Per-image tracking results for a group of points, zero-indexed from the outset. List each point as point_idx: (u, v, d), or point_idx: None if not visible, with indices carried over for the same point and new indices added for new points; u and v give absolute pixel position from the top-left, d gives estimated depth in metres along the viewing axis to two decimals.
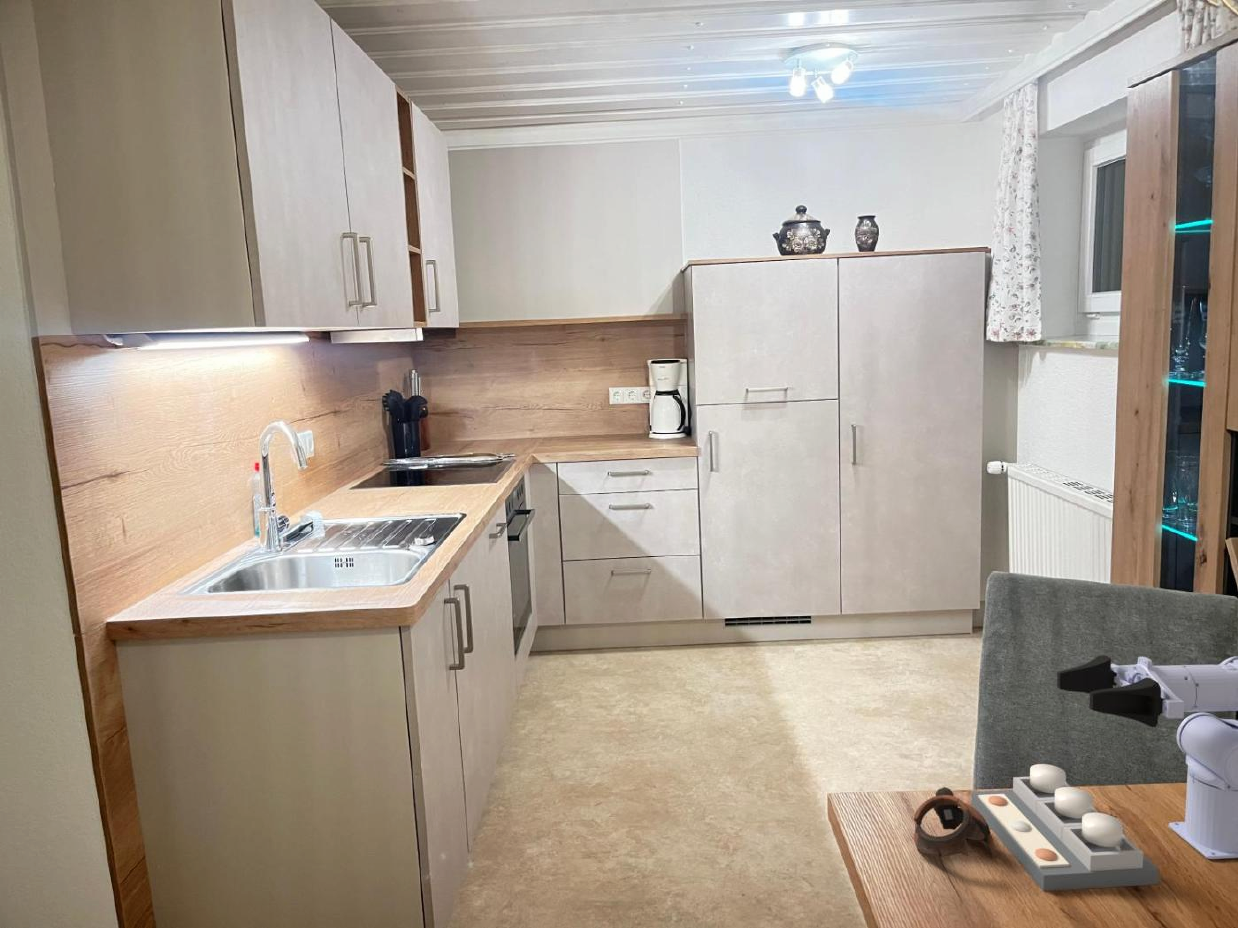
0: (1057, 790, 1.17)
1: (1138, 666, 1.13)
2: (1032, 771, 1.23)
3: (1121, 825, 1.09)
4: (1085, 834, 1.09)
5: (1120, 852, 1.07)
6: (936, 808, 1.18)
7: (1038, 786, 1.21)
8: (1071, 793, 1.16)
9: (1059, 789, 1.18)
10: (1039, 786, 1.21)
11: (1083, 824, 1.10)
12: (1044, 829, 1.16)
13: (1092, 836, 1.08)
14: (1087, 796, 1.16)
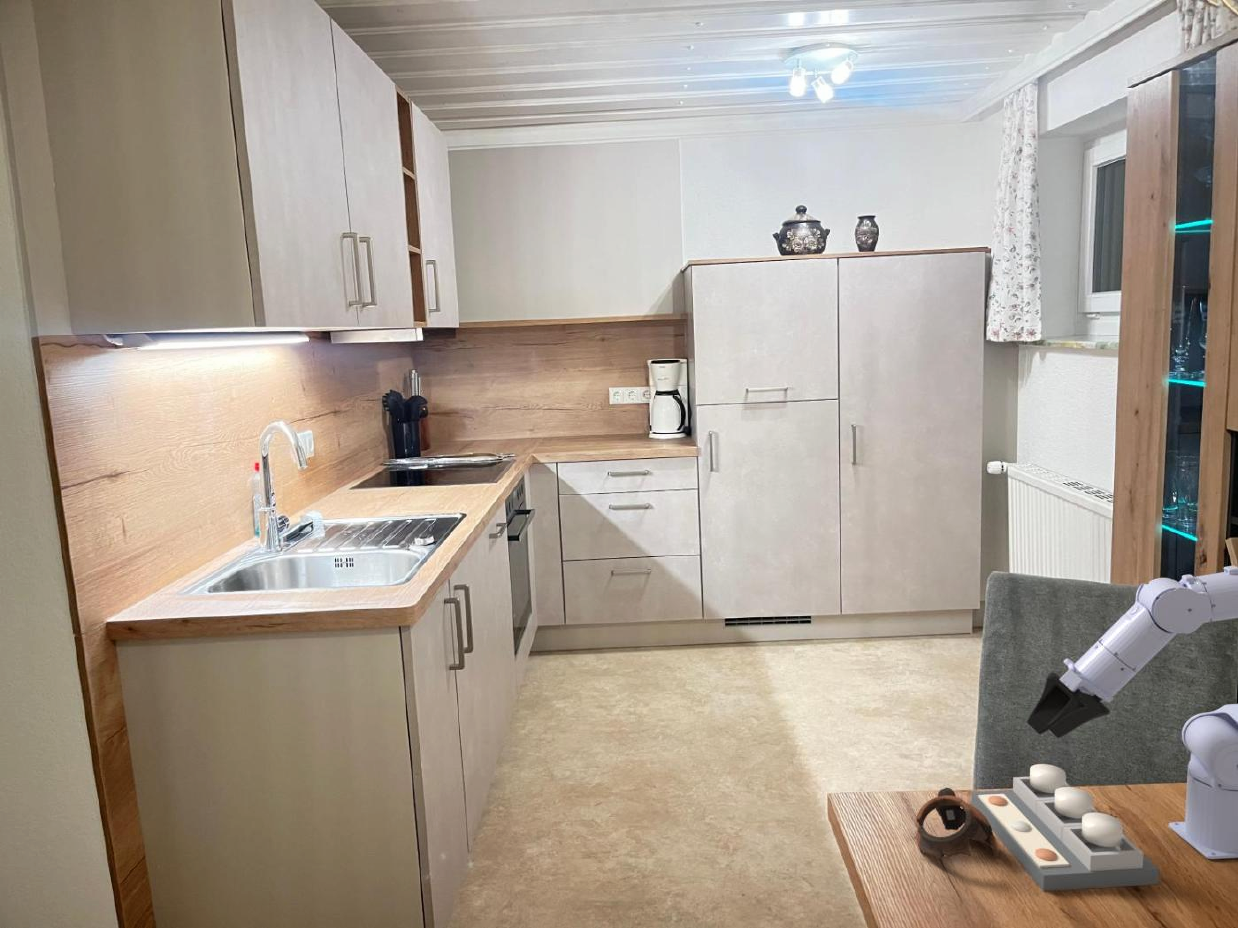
0: (1057, 790, 1.17)
1: None
2: (1032, 771, 1.23)
3: (1121, 825, 1.09)
4: (1085, 834, 1.09)
5: (1120, 852, 1.07)
6: (938, 808, 1.18)
7: (1038, 786, 1.21)
8: (1071, 793, 1.16)
9: (1059, 789, 1.18)
10: (1039, 786, 1.21)
11: (1083, 824, 1.10)
12: (1044, 829, 1.16)
13: (1092, 836, 1.08)
14: (1087, 796, 1.16)
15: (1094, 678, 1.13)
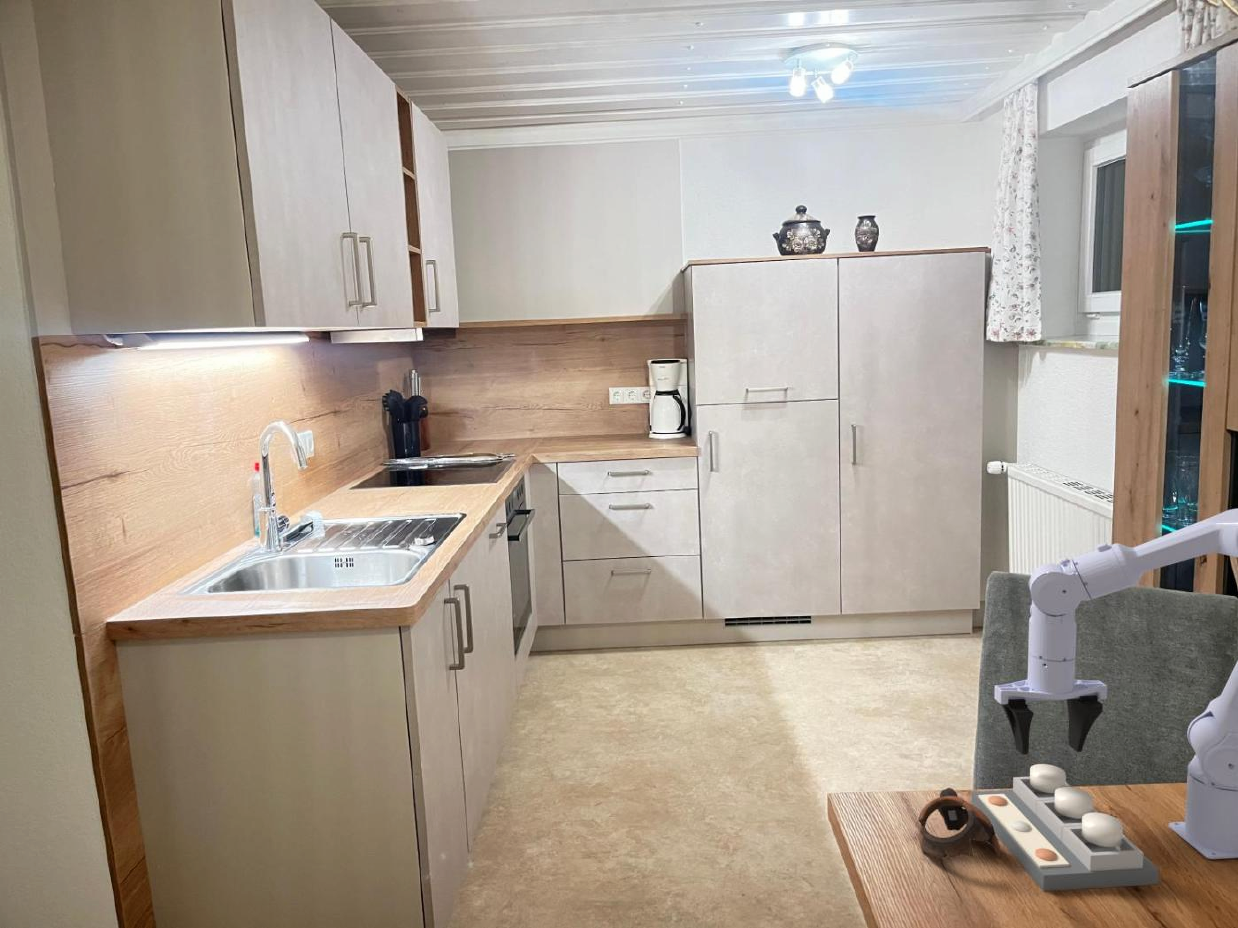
0: (1057, 790, 1.17)
1: None
2: (1032, 771, 1.23)
3: (1121, 825, 1.09)
4: (1085, 834, 1.09)
5: (1120, 852, 1.07)
6: (940, 809, 1.18)
7: (1038, 786, 1.21)
8: (1071, 793, 1.16)
9: (1059, 789, 1.18)
10: (1039, 786, 1.21)
11: (1083, 824, 1.10)
12: (1044, 829, 1.16)
13: (1092, 836, 1.08)
14: (1087, 796, 1.16)
15: (1033, 683, 1.20)
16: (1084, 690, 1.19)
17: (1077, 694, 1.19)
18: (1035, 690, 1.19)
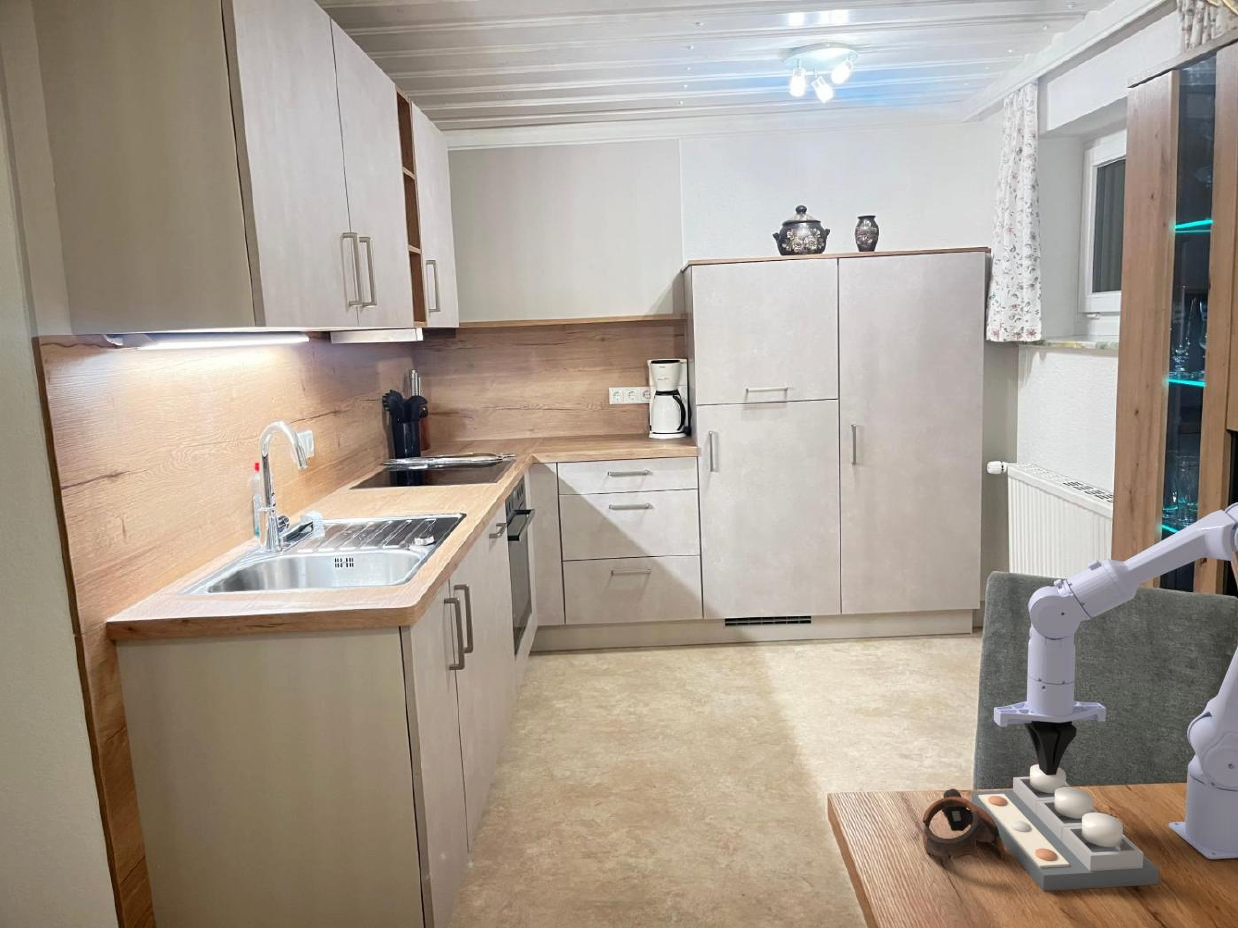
0: (1057, 790, 1.17)
1: None
2: (1032, 771, 1.23)
3: (1121, 825, 1.09)
4: (1085, 834, 1.09)
5: (1120, 852, 1.07)
6: (944, 810, 1.18)
7: (1038, 786, 1.21)
8: (1071, 793, 1.16)
9: (1059, 789, 1.18)
10: (1039, 786, 1.21)
11: (1083, 824, 1.10)
12: (1044, 829, 1.16)
13: (1092, 836, 1.08)
14: (1087, 796, 1.16)
15: (1032, 706, 1.20)
16: (1083, 713, 1.19)
17: (1076, 717, 1.19)
18: (1034, 712, 1.20)
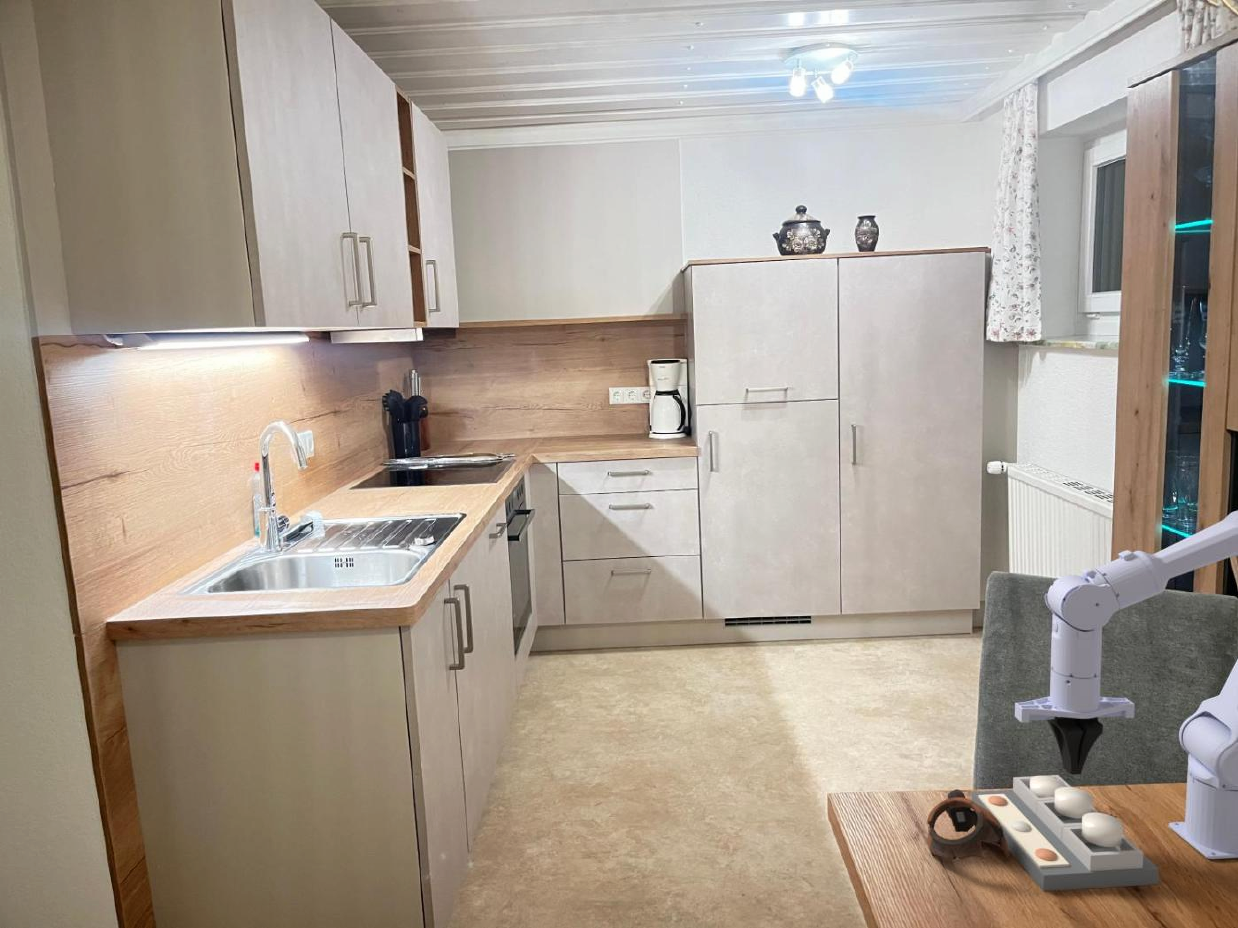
0: (1057, 790, 1.17)
1: None
2: (1032, 783, 1.23)
3: (1121, 825, 1.09)
4: (1085, 834, 1.09)
5: (1120, 852, 1.07)
6: (949, 810, 1.17)
7: None
8: (1071, 793, 1.16)
9: (1059, 789, 1.18)
10: None
11: (1083, 824, 1.10)
12: (1044, 829, 1.16)
13: (1092, 836, 1.08)
14: (1087, 796, 1.16)
15: (1055, 701, 1.14)
16: (1110, 708, 1.13)
17: (1103, 713, 1.13)
18: (1058, 708, 1.14)
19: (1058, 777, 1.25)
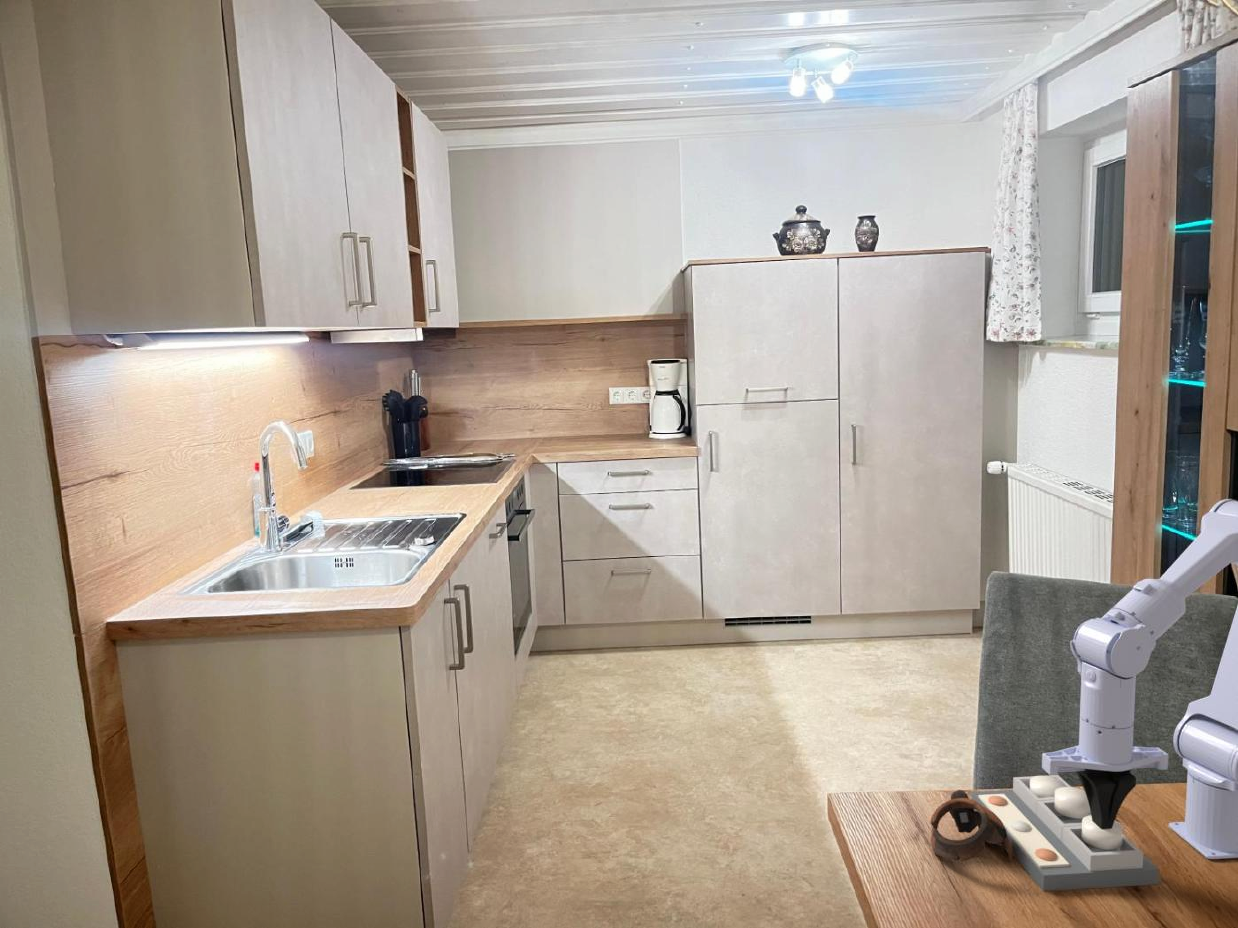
0: (1057, 790, 1.17)
1: None
2: (1032, 783, 1.23)
3: (1121, 828, 1.09)
4: (1085, 837, 1.10)
5: (1120, 852, 1.07)
6: (952, 811, 1.17)
7: None
8: (1071, 793, 1.16)
9: (1059, 789, 1.18)
10: None
11: (1083, 827, 1.10)
12: (1044, 829, 1.16)
13: (1092, 839, 1.09)
14: None
15: (1086, 752, 1.07)
16: (1143, 760, 1.07)
17: (1136, 765, 1.06)
18: (1088, 760, 1.07)
19: (1058, 777, 1.25)
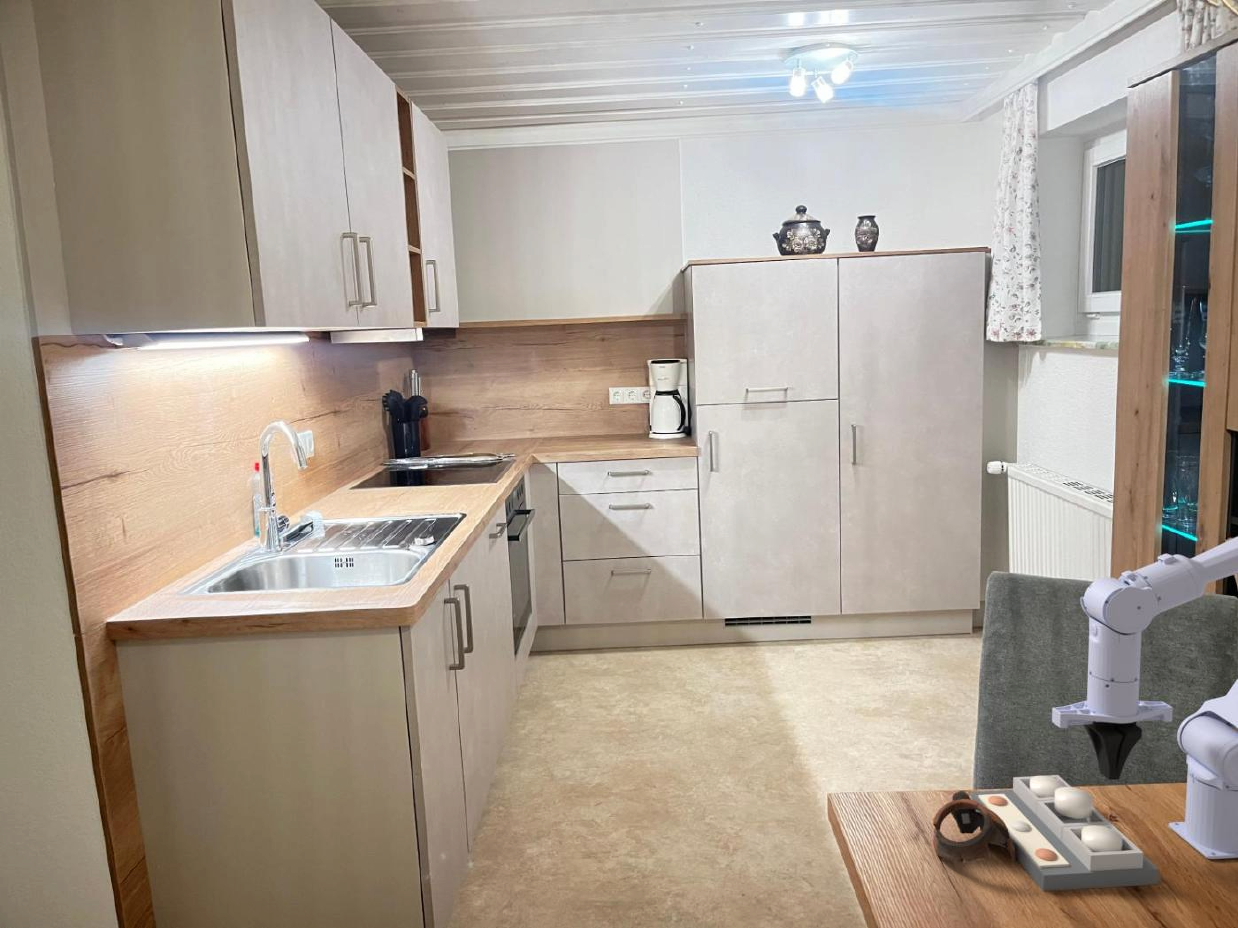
0: (1057, 790, 1.17)
1: None
2: (1032, 783, 1.23)
3: (1120, 838, 1.09)
4: None
5: (1120, 852, 1.07)
6: (954, 812, 1.17)
7: None
8: (1071, 793, 1.16)
9: (1059, 789, 1.18)
10: None
11: (1083, 837, 1.10)
12: (1044, 829, 1.16)
13: (1092, 849, 1.09)
14: (1087, 796, 1.16)
15: (1094, 706, 1.12)
16: (1149, 712, 1.12)
17: (1142, 717, 1.11)
18: (1096, 713, 1.12)
19: (1058, 777, 1.25)
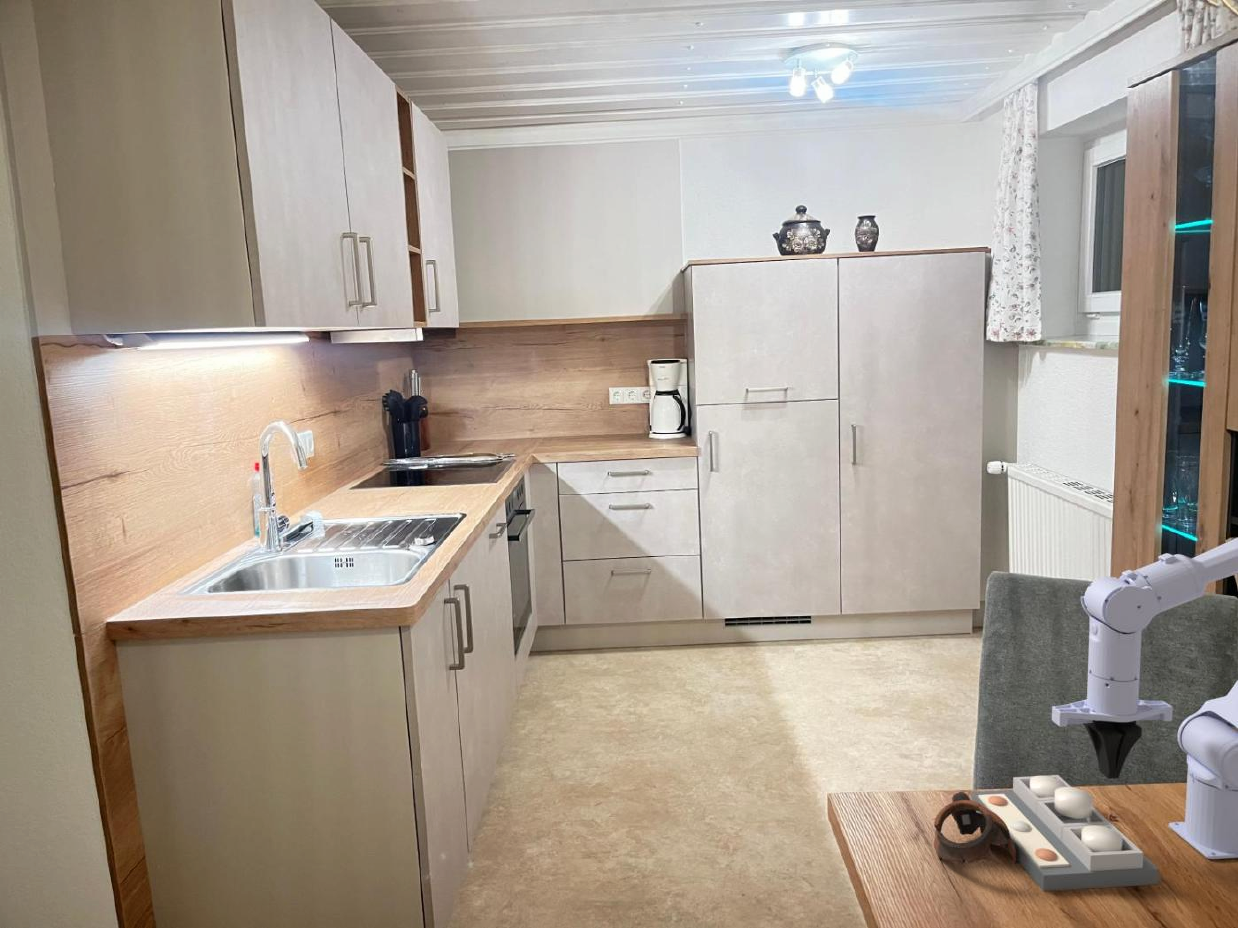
0: (1057, 790, 1.17)
1: None
2: (1032, 783, 1.23)
3: (1120, 838, 1.09)
4: None
5: (1120, 852, 1.07)
6: (954, 813, 1.17)
7: None
8: (1071, 793, 1.16)
9: (1059, 789, 1.18)
10: None
11: (1083, 837, 1.10)
12: (1044, 829, 1.16)
13: (1092, 849, 1.09)
14: (1087, 796, 1.16)
15: (1093, 704, 1.13)
16: (1149, 712, 1.12)
17: (1142, 716, 1.11)
18: (1096, 712, 1.12)
19: (1058, 777, 1.25)
